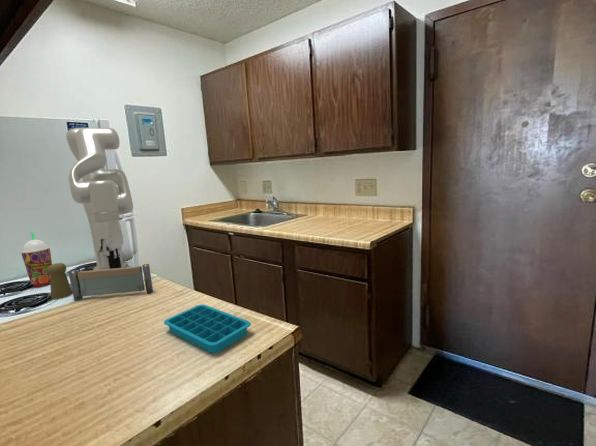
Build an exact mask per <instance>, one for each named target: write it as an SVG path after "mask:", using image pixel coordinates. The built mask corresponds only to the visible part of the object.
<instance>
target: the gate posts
mask: <svg viewBox="0 0 596 446" xmlns="http://www.w3.org/2000/svg"><path fill="white" fill-rule="evenodd" d="M78 272H79V271H78V269H73V270H70V271H68V276H69V278H68V279H69V283H70V286H71V289H72V292H73V294H72V296H73V297H72V298H73V301H75V302H77V301H82V300H83V299H84V296H83V297H82V293H81V288H80V283H79V279H78V275H77V273H78ZM142 274H143V280H144V287H145V291H146V294H147V295H150V294H153V293H154V288H153V281H152V275H151V269H150V263H145V264H142Z"/></svg>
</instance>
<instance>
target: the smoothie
mask: <svg viewBox="0 0 596 446" xmlns="http://www.w3.org/2000/svg"><path fill="white" fill-rule="evenodd" d="M30 235H31V239H30V240H28V241H26V242H25V243H24V244H23V246H22V248H21V251H20V255H21V257H22V260H23V263H24V266H25V269H26V272H27V273H26V274H27V276H28V279H29V283H30V284H31V285H32V286H33V287H34V288H41V287H46V286H49V285H50V275H49V274H48V273H47V267H48V266H50V265H52V264H53V261H52V252H51V246H50V245H48V243H47V242H46V241H44V240H41V239H36V238H35V235H34V232H33V231H32V232H30Z"/></svg>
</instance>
